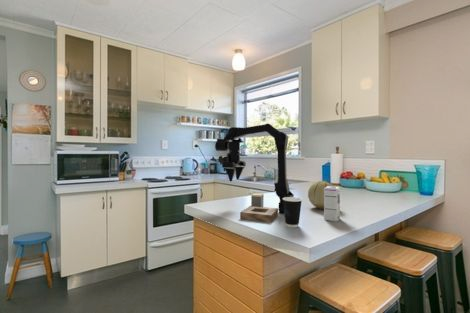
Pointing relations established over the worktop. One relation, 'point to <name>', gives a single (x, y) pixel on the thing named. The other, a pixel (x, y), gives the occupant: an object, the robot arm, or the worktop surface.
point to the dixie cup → (292, 211)
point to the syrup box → (332, 203)
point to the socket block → (259, 213)
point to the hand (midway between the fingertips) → (234, 180)
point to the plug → (257, 200)
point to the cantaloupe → (318, 193)
